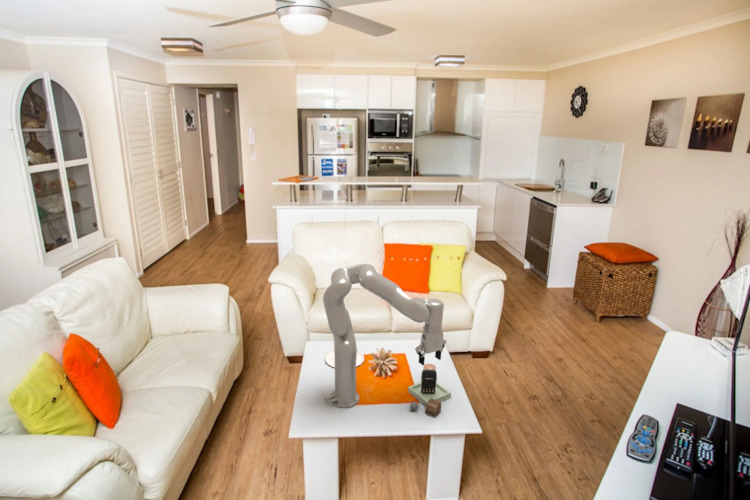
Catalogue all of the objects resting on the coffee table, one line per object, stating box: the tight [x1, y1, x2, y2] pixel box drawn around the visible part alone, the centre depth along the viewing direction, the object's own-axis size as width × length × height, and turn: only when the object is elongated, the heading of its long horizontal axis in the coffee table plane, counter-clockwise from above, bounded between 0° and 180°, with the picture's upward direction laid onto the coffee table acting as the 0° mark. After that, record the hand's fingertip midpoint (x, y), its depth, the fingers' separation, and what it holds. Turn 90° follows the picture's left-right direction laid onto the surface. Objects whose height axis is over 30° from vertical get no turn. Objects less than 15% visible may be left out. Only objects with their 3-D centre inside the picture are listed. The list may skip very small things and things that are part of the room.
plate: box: [324, 350, 365, 369], centre depth 235 cm, size 21×21×1 cm
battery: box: [420, 368, 438, 394], centre depth 204 cm, size 7×4×11 cm, turn 87°
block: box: [424, 398, 442, 418], centre depth 192 cm, size 5×5×5 cm
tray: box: [407, 381, 452, 407], centre depth 205 cm, size 14×14×2 cm
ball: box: [409, 401, 419, 411], centre depth 194 cm, size 4×4×4 cm
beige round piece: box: [422, 363, 437, 371], centre depth 218 cm, size 6×6×6 cm
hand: (429, 361), depth 201 cm, fingers open, 9 cm apart
